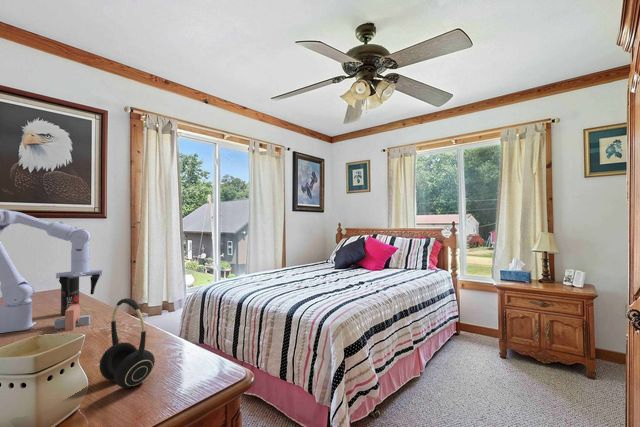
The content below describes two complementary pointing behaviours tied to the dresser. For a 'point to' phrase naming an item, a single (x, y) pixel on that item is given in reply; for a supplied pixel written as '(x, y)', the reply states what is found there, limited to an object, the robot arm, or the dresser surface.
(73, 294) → the deodorant
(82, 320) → the grey block
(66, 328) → the pink rectangular block
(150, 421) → the dresser surface
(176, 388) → the dresser surface
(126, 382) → the headphones
